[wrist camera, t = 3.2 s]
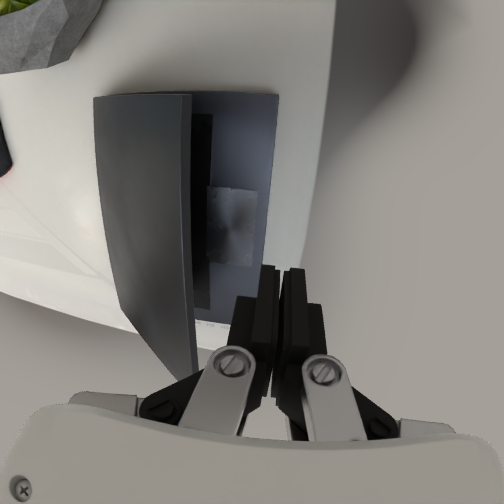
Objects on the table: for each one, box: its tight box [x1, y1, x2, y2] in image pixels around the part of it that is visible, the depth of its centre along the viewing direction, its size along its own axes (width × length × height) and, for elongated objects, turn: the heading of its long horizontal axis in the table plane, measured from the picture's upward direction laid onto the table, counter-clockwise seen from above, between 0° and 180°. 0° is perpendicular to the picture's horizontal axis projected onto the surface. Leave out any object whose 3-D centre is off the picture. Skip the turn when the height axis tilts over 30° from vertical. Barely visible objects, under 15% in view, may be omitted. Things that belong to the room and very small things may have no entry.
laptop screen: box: [93, 94, 199, 381], centre depth 25 cm, size 17×26×1 cm
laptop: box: [107, 91, 279, 325], centre depth 31 cm, size 17×26×2 cm, turn 176°
